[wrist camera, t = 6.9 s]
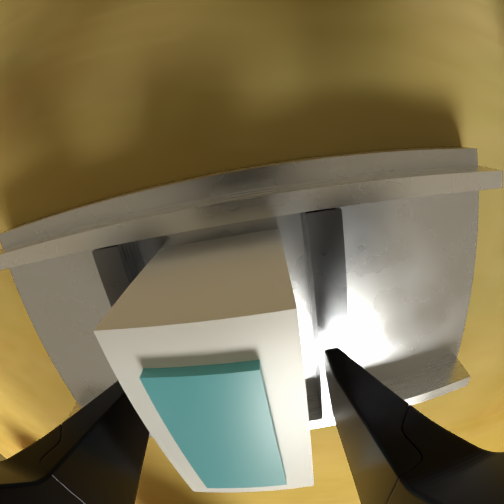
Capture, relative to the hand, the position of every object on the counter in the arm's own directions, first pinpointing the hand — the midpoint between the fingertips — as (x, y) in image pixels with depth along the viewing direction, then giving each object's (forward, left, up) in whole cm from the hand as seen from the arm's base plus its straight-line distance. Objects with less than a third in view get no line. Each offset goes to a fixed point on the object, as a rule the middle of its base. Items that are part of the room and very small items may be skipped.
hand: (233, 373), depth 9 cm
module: (0, 0, -2) cm, 2 cm away
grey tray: (0, 0, -4) cm, 4 cm away
